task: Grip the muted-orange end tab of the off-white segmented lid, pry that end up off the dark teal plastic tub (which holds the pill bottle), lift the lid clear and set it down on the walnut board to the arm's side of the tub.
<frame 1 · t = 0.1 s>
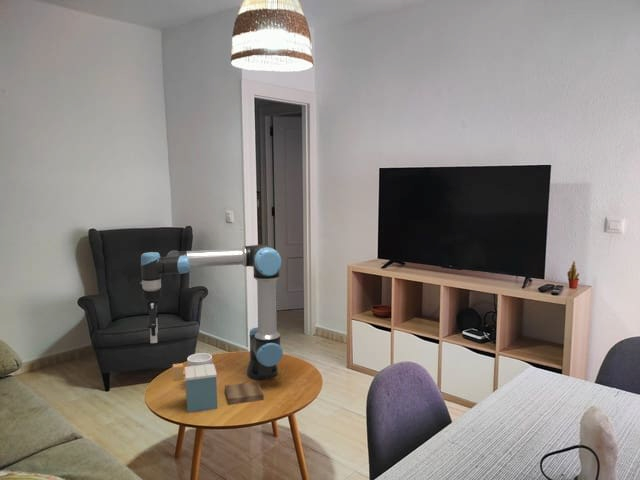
hand: (154, 337, 212), 28 cm above the table, fingers open, 13 cm apart
lid: (200, 372, 209), point 14 cm above the table, touching tub
cup: (200, 387, 228), on the table
tub: (201, 404, 211), on the table
board: (243, 395, 219), on the table
pill bottle: (201, 404, 211), resting in tub
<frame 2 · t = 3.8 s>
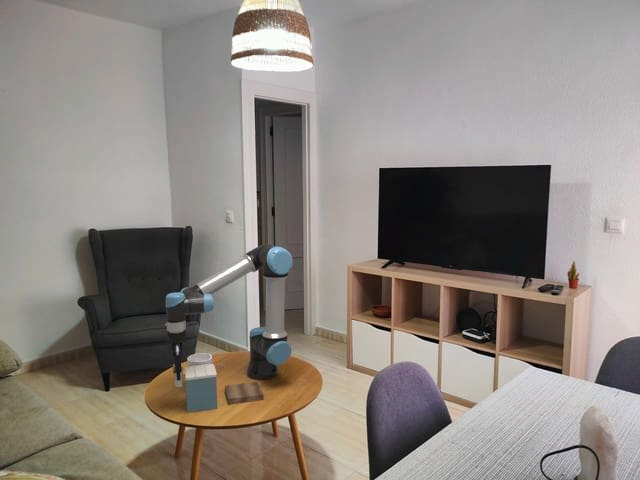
hand: (178, 384, 207), 10 cm above the table, fingers closed on lid, 3 cm apart
lid: (200, 372, 209), point 14 cm above the table, touching gripper
everything else where it was.
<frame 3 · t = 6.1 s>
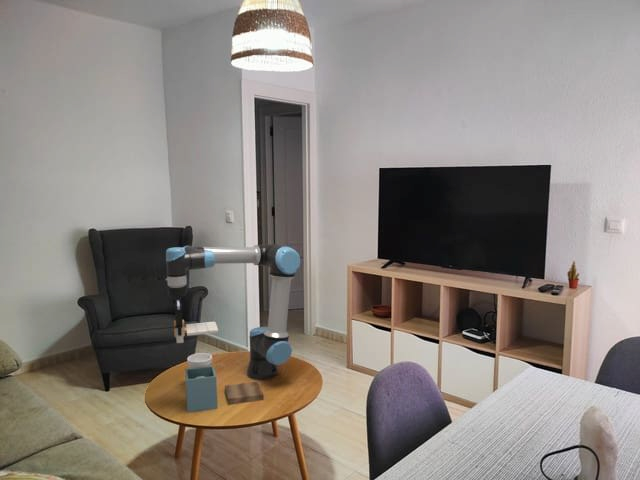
hand: (180, 340, 205), 29 cm above the table, fingers closed on lid, 3 cm apart
lid: (201, 329, 207), point 33 cm above the table, touching gripper
everything else where it was.
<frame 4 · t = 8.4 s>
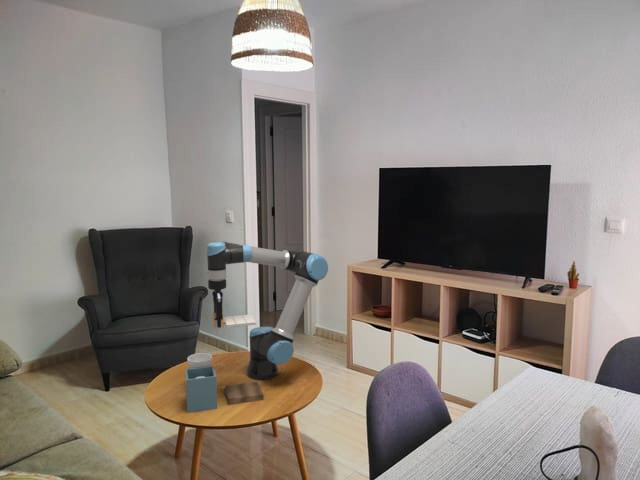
hand: (218, 332, 212), 30 cm above the table, fingers closed on lid, 3 cm apart
lid: (239, 321, 214), point 34 cm above the table, touching gripper
everything else where it was.
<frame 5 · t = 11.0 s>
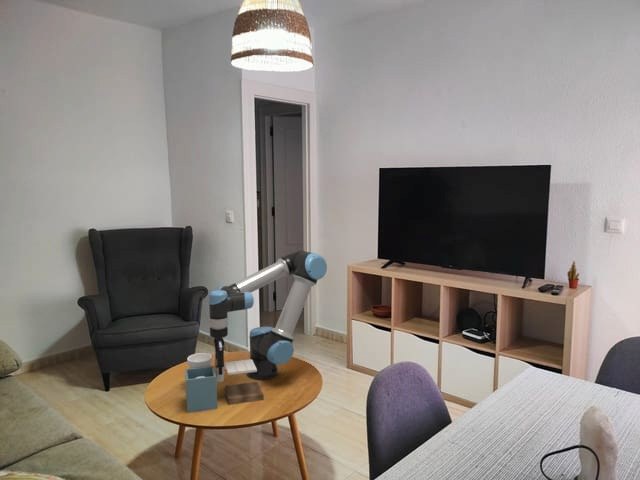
hand: (219, 378, 215), 9 cm above the table, fingers closed on lid, 3 cm apart
lid: (240, 367, 217), point 13 cm above the table, touching gripper
everything else where it was.
when the fingers open (2 cm above the table, at t = 13.0 s): lid drops 3 cm, resting on board.
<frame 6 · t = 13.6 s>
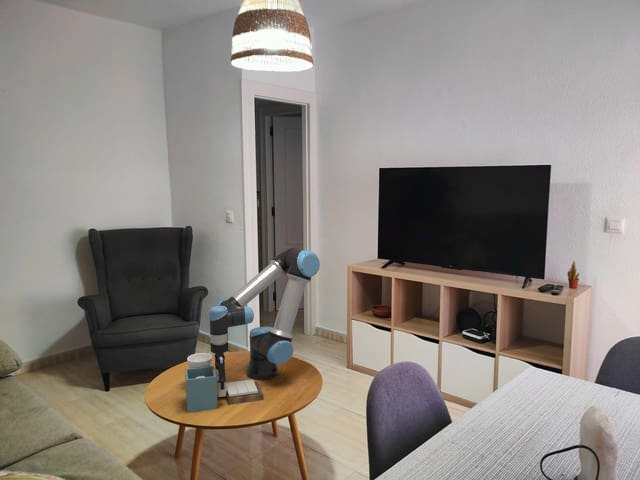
hand: (220, 389, 216), 4 cm above the table, fingers open, 12 cm apart
lid: (241, 388, 219), point 3 cm above the table, touching board
everything else where it was.
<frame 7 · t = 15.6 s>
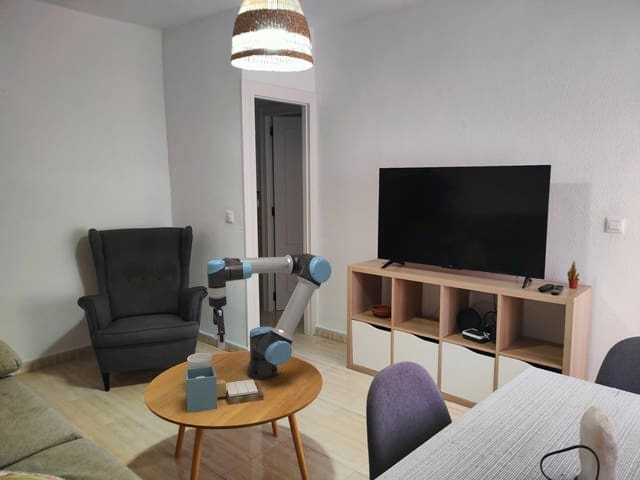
hand: (219, 344, 215), 24 cm above the table, fingers open, 13 cm apart
nothing on the table moved.
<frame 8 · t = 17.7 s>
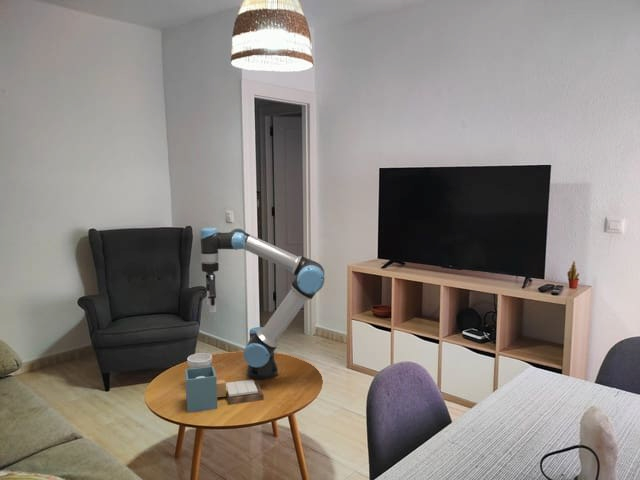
hand: (211, 308, 225), 37 cm above the table, fingers open, 13 cm apart
nothing on the table moved.
at the end: lid inside the target area on the board (0.0 cm from its centre), point 3.1 cm above the board's base; lid touching board; the gripper is holding nothing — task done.
